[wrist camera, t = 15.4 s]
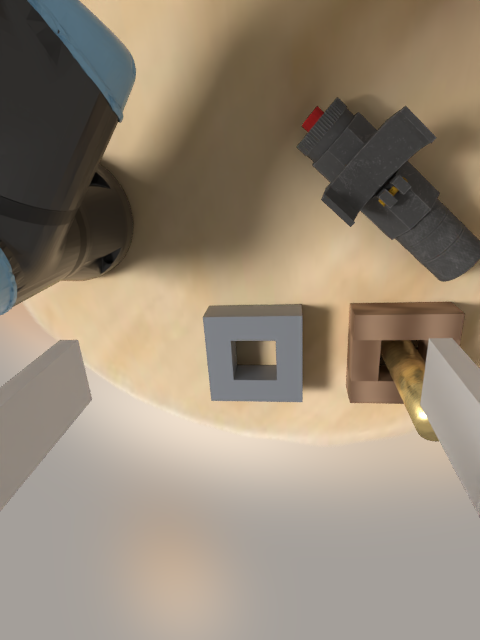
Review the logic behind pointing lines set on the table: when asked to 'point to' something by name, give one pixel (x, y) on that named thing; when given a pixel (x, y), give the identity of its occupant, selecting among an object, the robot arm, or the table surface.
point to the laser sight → (387, 185)
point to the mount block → (254, 326)
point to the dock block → (392, 324)
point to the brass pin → (408, 380)
